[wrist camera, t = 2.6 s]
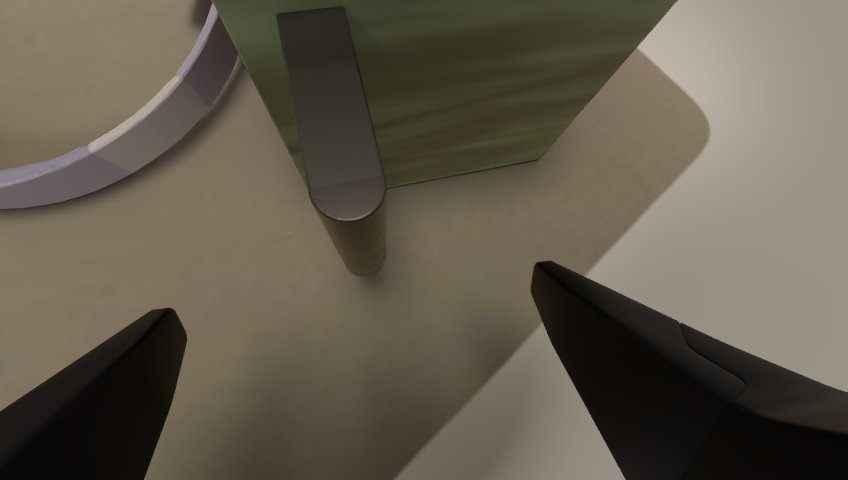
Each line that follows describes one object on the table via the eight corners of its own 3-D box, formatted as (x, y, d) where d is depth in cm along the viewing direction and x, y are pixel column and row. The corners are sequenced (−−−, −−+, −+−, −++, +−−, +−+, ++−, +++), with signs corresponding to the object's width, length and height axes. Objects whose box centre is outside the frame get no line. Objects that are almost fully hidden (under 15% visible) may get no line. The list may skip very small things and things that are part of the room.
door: (569, 245, 20) (906, 78, 7) (332, 300, 18) (203, 207, 5) (535, 147, 22) (766, -144, 9) (311, 188, 20) (166, -112, 7)
